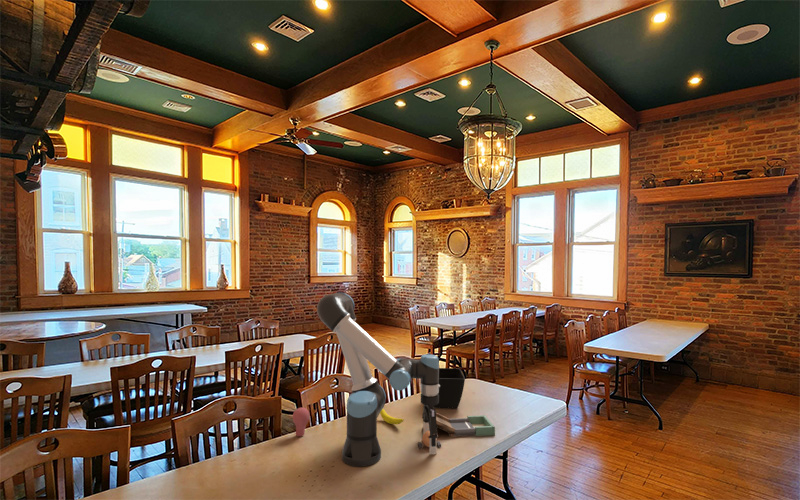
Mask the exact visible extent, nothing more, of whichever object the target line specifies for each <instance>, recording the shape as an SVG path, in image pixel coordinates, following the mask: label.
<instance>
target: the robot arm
mask: <svg viewBox="0 0 800 500" xmlns="http://www.w3.org/2000/svg"><path fill="white" fill-rule="evenodd" d="M316 313H317V315H318V318H319V319H320V321H321V322H322V323H323V324H324V325H325V326H326V327H327V328H328V329H330V331H332V333H336V336H337V340H338V343H339V345H340V349H341V351H342V354H343V357H344V360H345V362H346V366H347V369H348V372H349V375H350V378H351V380H352V387H351V392H352V393H351V394H350V395H349V396H348V398H347V401H346V408H345V409H346V438H345V441H344V444H343V447H342V450H341V460H342V461H343V463H344V464H346V465H348V466H351V467H360V468H361V467H362V468H363V467H368V466H372V465H374V464H376V463H378V462H380V460H381V458H382V449H381V446H380V443H379V439H378V435H377V433H378V431H377V427H378V426H377V423H378V417H379V415H381V414H380V412H381V410H382V409H384V407H385V405H386V399H387V395H386V392H385V390H384V388H383V387H382V385H380V384H379V381H378V379H377V377H376V378H375V377H374V376H373V374H372V371H371V368H370V366H369V363H370V364H371V365H372V366H374V367H375V368H376V370H378V371H379V372H380V373H381V374H383V376H384V377H386V379H388V380H389V384H390V387H392V389H393V390H395V391H403V390H406V389H407V387H408V386H409V385H410V382H412V381H411V380H412V379H420V403H421V404H422V405H423V409H422V417H421V418H422V419H423V421H422V422H423V429H422V430H423V431H422V432H423V434H424V433H425V432H427V431H430V436H429V437H428V438H429V447H428V448H429V449H428V451H429V455H436V454H437V451H438V450H437V449H438V448H437V447H438V446H437V441H438V438H439V435H438V427H437V422H436V413H437V410H436V408H434V406H435V405H437V404H438V403H439V394H438V393H439V387H440V385H439V368H440V362H439V357H438V356H437V355H435V354H422V355H421V356H420V359H411V358H410V359H405V358H395V357H394V356H393V355H392V354H391V352H389V351H388V350H387V349H386V348H385V347H383V346H382V345H381V344H380V343H379V342H378V341H377V340H376V339H375V338H374V337H372V336H371V335H369V333H368V332H367V331H366V330H364V329H363V327H361V326H360V325H359V324H358V323H357V322H356V320H357V317H356V314H355V302H354V298H352V297H351V296H350V295H349V294H347V293H345V292H335V293H331V294H327V295H325V296H323V297H321V298H320V299H319V301H318V303H317V305H316Z"/></svg>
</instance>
